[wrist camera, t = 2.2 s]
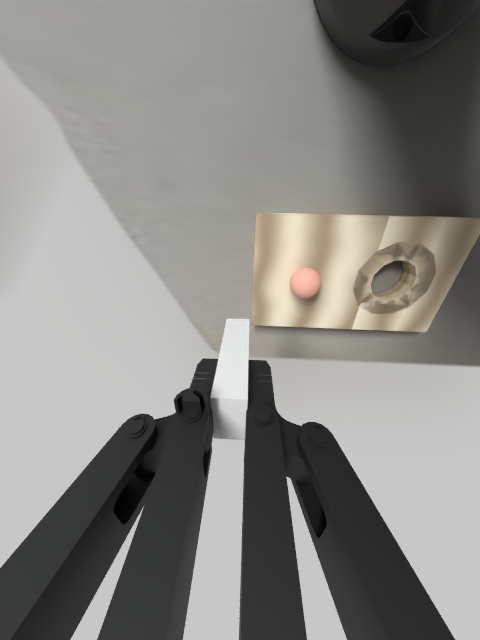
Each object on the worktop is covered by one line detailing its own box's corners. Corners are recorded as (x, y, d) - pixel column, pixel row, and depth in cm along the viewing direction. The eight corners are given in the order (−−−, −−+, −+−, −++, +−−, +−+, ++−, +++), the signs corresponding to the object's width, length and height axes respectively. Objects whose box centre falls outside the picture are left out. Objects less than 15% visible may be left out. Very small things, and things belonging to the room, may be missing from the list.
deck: (250, 316, 31) (250, 325, 29) (255, 212, 24) (256, 213, 22) (413, 322, 31) (426, 332, 28) (466, 217, 24) (488, 218, 21)
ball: (305, 258, 24) (313, 265, 21) (322, 279, 25) (331, 289, 22) (281, 277, 26) (285, 287, 23) (298, 296, 27) (304, 308, 24)
